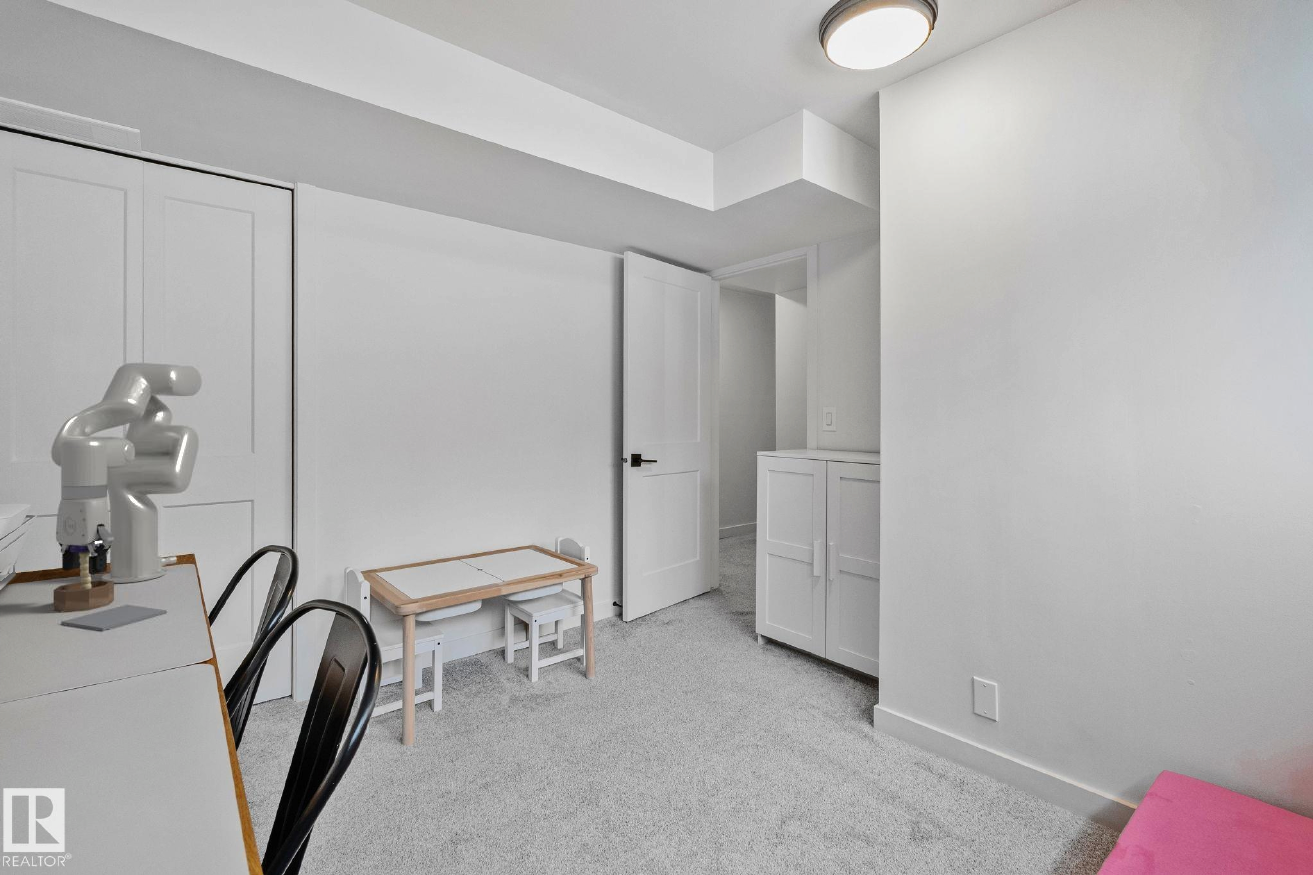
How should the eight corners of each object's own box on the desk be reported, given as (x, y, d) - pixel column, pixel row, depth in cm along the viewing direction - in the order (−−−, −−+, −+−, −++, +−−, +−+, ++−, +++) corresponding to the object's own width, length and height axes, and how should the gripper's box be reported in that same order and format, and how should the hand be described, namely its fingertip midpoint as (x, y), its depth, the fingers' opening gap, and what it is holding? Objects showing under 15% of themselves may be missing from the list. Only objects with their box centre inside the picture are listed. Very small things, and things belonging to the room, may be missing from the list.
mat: (126, 607, 134) (126, 604, 134) (166, 612, 131) (166, 610, 131) (61, 624, 122) (61, 621, 122) (103, 631, 119) (103, 628, 119)
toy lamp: (84, 608, 132) (84, 534, 132) (63, 608, 132) (63, 533, 132) (104, 602, 137) (104, 530, 137) (84, 601, 137) (84, 529, 137)
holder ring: (94, 597, 140) (94, 578, 140) (122, 601, 138) (122, 582, 138) (45, 609, 131) (45, 588, 131) (74, 613, 129) (74, 592, 129)
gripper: (36, 493, 133) (37, 571, 133) (92, 497, 128) (92, 578, 128) (77, 489, 140) (77, 564, 140) (131, 493, 135) (131, 570, 136)
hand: (84, 570), depth 134 cm, fingers open, 7 cm apart
